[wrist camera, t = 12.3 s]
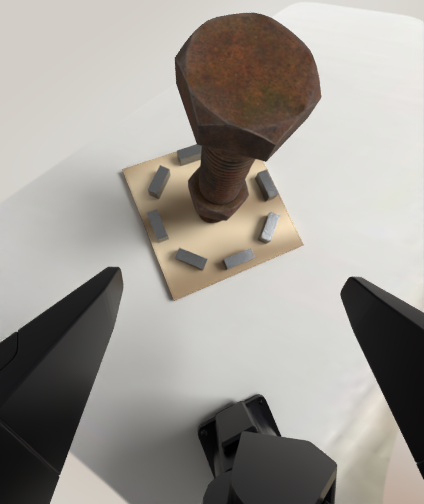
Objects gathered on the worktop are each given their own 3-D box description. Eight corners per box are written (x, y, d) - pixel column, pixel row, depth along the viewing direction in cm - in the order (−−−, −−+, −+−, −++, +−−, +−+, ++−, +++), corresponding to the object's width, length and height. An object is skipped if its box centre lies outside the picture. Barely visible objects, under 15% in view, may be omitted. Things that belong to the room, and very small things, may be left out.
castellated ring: (294, 241, 23) (300, 238, 22) (178, 290, 21) (177, 290, 20) (244, 135, 25) (246, 128, 24) (131, 173, 23) (128, 166, 22)
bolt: (245, 229, 23) (343, 122, 8) (197, 243, 22) (211, 154, 8) (226, 177, 24) (286, -6, 9) (179, 189, 23) (162, 13, 8)
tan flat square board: (301, 246, 24) (303, 245, 23) (174, 300, 22) (174, 300, 21) (246, 132, 26) (247, 128, 25) (124, 172, 24) (122, 169, 23)
